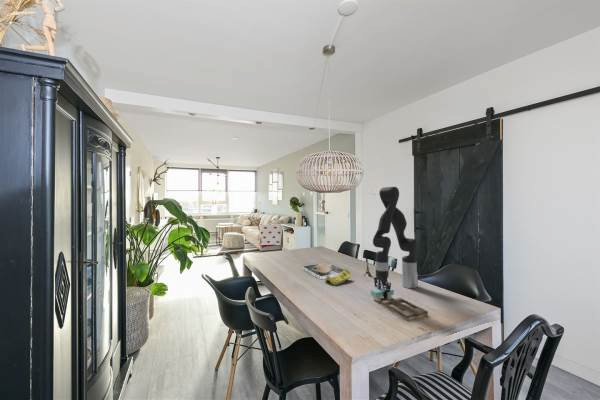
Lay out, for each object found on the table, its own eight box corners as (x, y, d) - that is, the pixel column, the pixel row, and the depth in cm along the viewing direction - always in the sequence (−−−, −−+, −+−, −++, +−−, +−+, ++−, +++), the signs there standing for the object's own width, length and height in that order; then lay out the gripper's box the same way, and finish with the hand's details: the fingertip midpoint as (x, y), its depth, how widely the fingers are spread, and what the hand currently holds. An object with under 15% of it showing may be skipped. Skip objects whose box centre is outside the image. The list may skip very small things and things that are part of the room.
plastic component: (335, 282, 187) (326, 274, 194) (332, 290, 190) (323, 281, 197) (354, 275, 200) (344, 267, 206) (351, 283, 203) (342, 274, 209)
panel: (388, 296, 167) (388, 287, 167) (393, 298, 163) (393, 289, 163) (370, 299, 163) (370, 290, 163) (375, 301, 158) (375, 292, 158)
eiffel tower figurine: (379, 278, 206) (379, 260, 206) (368, 279, 203) (368, 262, 202) (368, 273, 220) (367, 257, 220) (357, 274, 216) (357, 258, 216)
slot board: (400, 301, 158) (400, 297, 158) (427, 315, 139) (427, 311, 139) (381, 305, 153) (381, 301, 153) (406, 320, 134) (406, 315, 134)
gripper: (395, 271, 157) (395, 300, 157) (379, 265, 171) (380, 292, 171) (384, 272, 155) (384, 301, 155) (369, 266, 168) (370, 293, 168)
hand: (382, 296), depth 163 cm, fingers closed on panel, 5 cm apart
